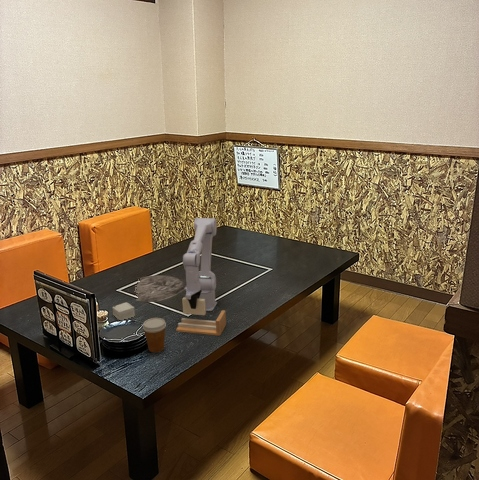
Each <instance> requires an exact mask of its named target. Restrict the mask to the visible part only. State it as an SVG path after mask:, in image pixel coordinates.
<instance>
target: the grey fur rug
mask: <svg viewBox="0 0 479 480" xmlns="http://www.w3.org/2000/svg"><path fill="white" fill-rule="evenodd" d="M139 278H140V277H139ZM138 280H139V279H138ZM139 281H140V282H137V283H138V284H137V283H136V284H137V285H135V286H137V287H135V291H134V292H136V293H138V294H136V295H137V297H138V299H136V301H135V302H137V301H139V302H138V303H155V302H160V301H164V300H166V299H170V298H172V297H175V296H177V295H178V294H179V293H181V292H183V291H185V290H184V288H185V287H186V285H185V283H184V281H183V280H181V279H180V278H177V277H174V276H172V275H171V276H170V275H163V274H162V275H159V274H158V275H157V274H156V275H147V276H141V278H140V280H139ZM136 289H137V290H136ZM136 295H135V296H136Z"/></svg>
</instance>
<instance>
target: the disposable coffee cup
mask: <svg viewBox="0 0 479 480" xmlns="http://www.w3.org/2000/svg"><path fill="white" fill-rule="evenodd" d="M142 326H143V329H144V332H145V336H146V339H145V340H146V342H147V347H148V351H149V352H151V353H160V352H162V351H163V350H165V341H166V340H165V339H166V338H165V336H166V327H167V323H166V320H165V319H164V318H162V317H161V318H160V317H152V318H149V319H146V320H145V321H144V322H143V324H142Z"/></svg>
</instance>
